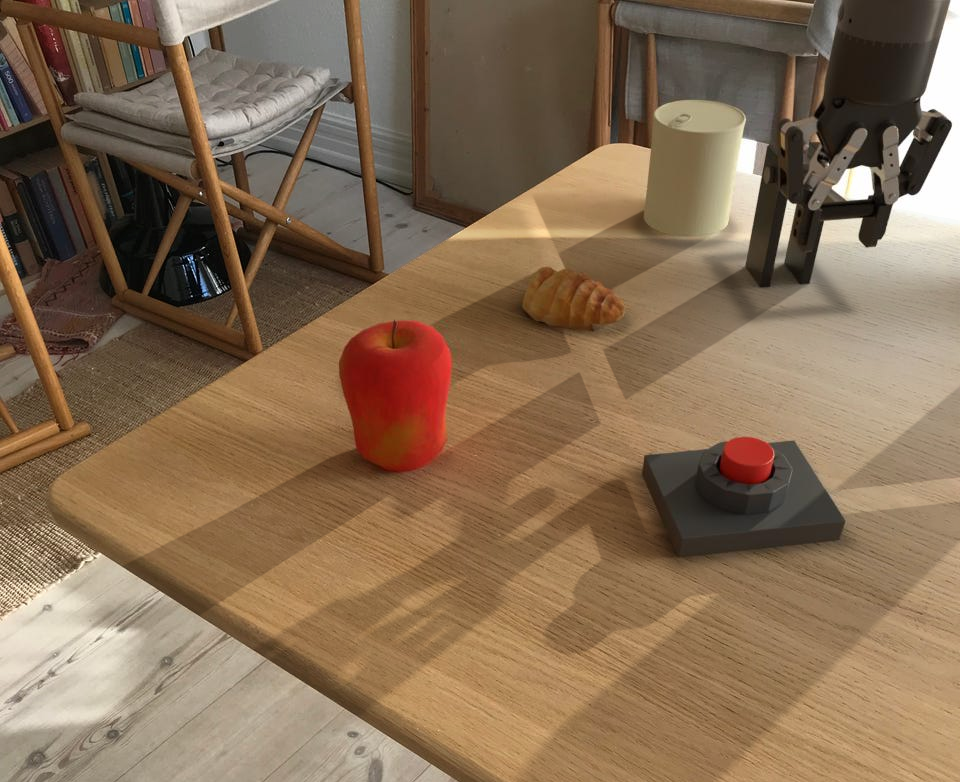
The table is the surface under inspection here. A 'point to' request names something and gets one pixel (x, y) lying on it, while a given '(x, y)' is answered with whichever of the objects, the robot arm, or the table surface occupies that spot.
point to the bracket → (776, 228)
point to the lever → (841, 203)
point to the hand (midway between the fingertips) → (835, 245)
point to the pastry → (570, 300)
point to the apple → (397, 393)
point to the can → (692, 167)
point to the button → (746, 460)
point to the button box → (739, 502)
